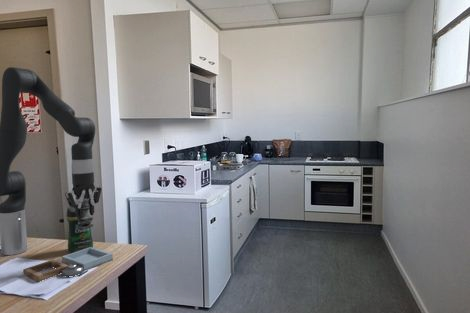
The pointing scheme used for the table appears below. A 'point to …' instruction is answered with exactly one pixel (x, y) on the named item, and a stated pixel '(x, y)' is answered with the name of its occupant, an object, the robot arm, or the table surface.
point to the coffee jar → (77, 233)
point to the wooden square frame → (33, 271)
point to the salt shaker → (85, 215)
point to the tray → (88, 258)
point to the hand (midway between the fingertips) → (85, 216)
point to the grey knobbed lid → (72, 270)
